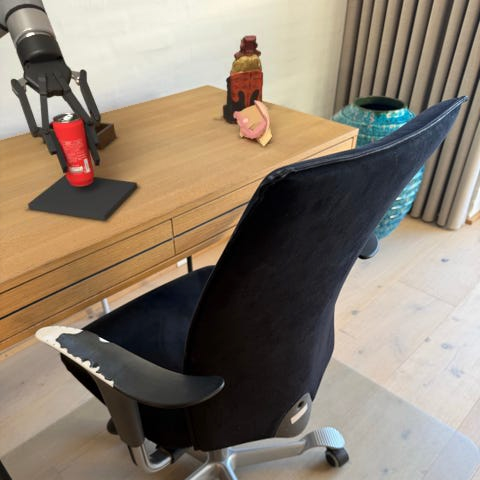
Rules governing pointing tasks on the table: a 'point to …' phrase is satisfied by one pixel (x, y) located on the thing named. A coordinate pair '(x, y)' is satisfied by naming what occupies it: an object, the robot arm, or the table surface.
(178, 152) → the table surface
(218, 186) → the table surface
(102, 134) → the divided desk organizer tray
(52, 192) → the mat
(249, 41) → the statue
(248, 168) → the table surface
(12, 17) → the robot arm
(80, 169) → the beverage can
